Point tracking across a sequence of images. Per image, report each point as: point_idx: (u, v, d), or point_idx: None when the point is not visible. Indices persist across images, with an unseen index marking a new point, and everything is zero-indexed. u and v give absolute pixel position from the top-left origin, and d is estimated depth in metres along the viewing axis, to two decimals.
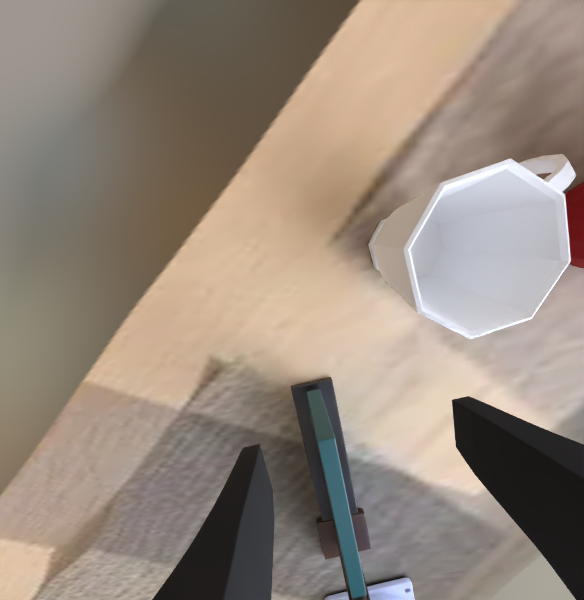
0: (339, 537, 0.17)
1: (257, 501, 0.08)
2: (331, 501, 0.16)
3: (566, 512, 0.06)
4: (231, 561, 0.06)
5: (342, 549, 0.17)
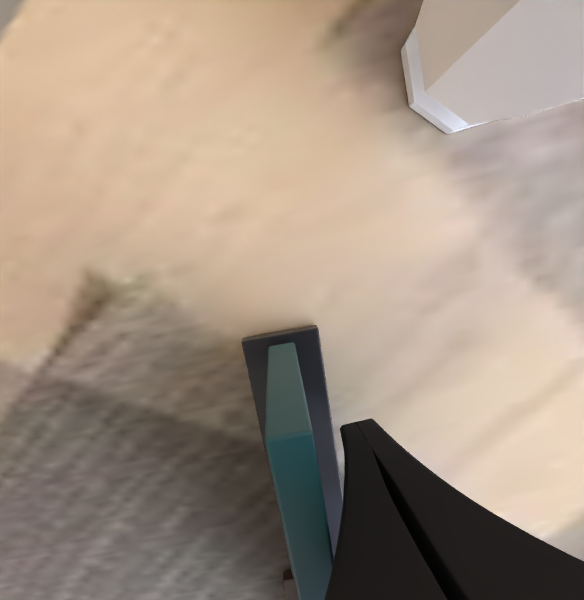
0: None
1: None
2: (298, 586, 0.07)
3: None
4: (401, 521, 0.06)
5: None
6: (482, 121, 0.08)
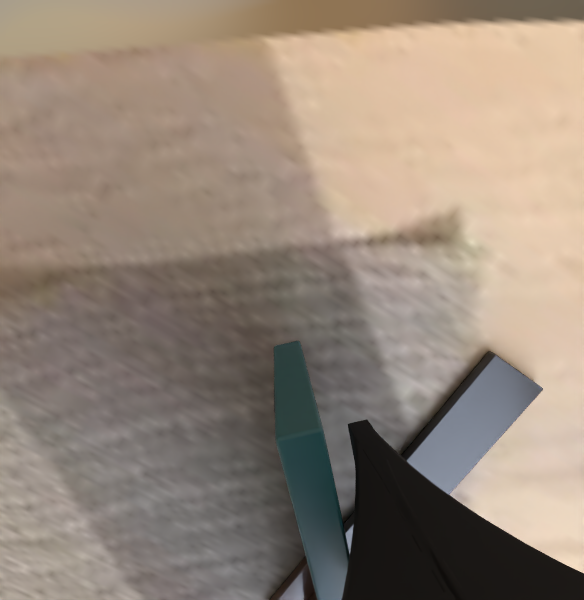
0: None
1: None
2: (316, 584, 0.07)
3: None
4: (415, 517, 0.06)
5: None
6: None
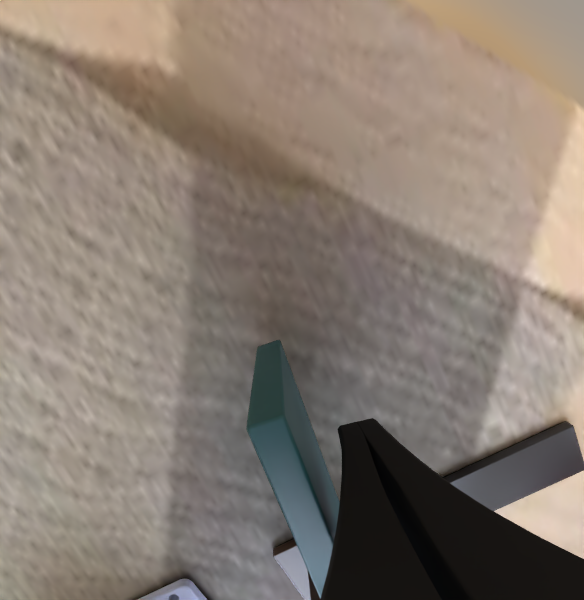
0: None
1: None
2: (300, 549, 0.08)
3: (417, 547, 0.06)
4: (397, 522, 0.06)
5: None
6: None
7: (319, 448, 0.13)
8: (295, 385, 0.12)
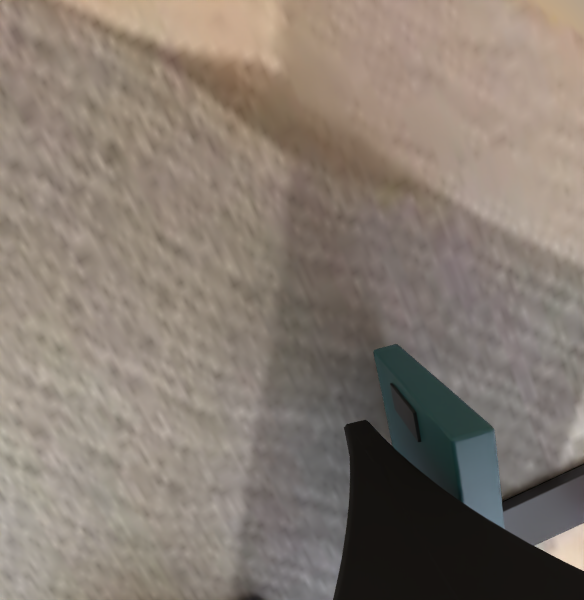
0: None
1: None
2: None
3: None
4: (408, 519, 0.06)
5: None
6: None
7: None
8: None
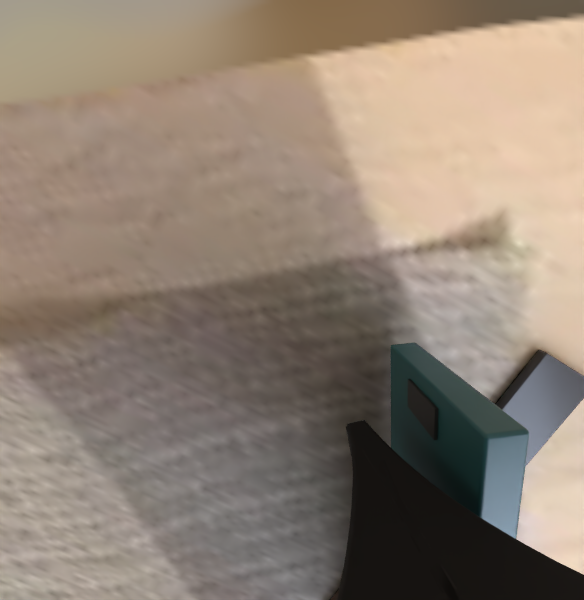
0: None
1: None
2: None
3: None
4: (412, 518, 0.06)
5: None
6: None
7: None
8: None
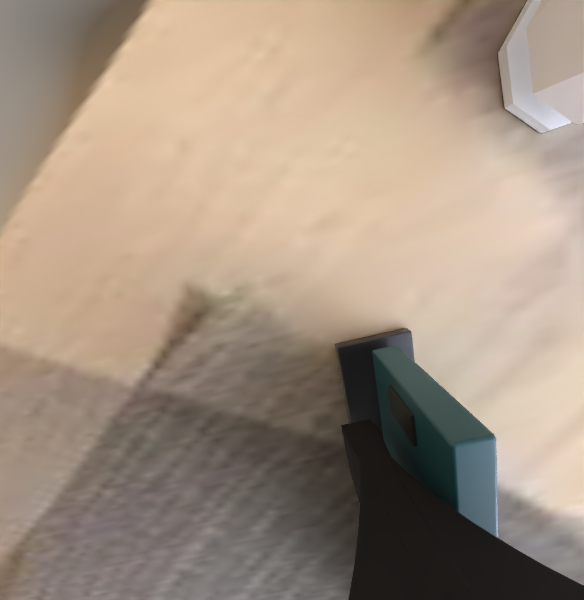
0: None
1: None
2: None
3: None
4: (421, 516, 0.06)
5: None
6: None
7: None
8: None
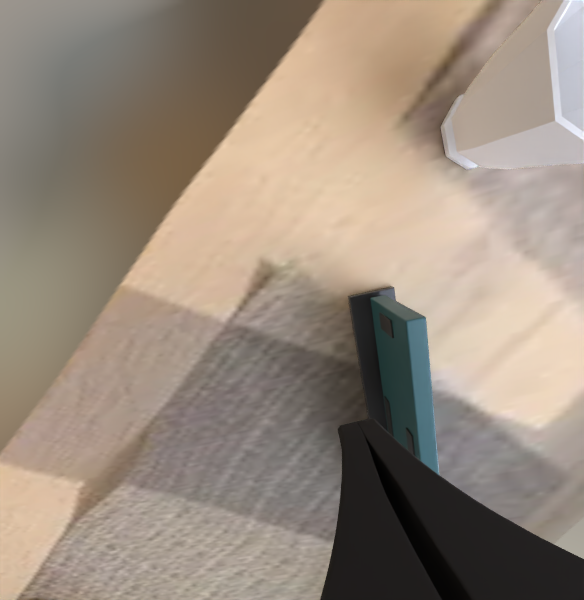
0: (419, 443, 0.15)
1: None
2: (414, 398, 0.14)
3: (417, 547, 0.06)
4: (398, 522, 0.06)
5: (421, 458, 0.15)
6: (489, 167, 0.16)
7: None
8: None
